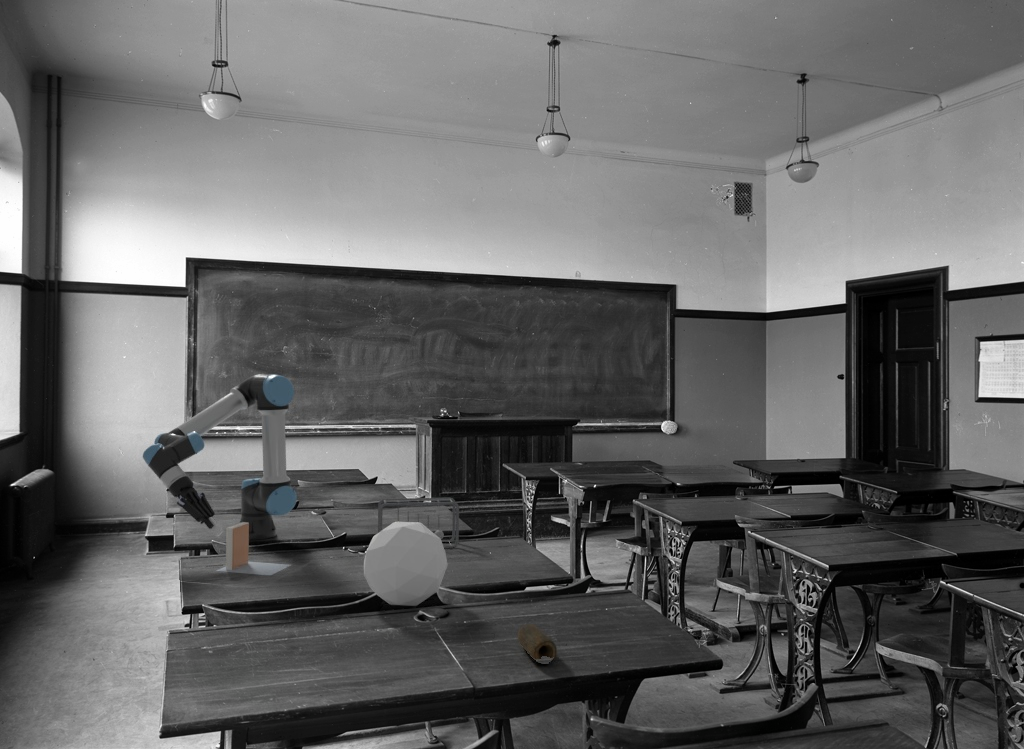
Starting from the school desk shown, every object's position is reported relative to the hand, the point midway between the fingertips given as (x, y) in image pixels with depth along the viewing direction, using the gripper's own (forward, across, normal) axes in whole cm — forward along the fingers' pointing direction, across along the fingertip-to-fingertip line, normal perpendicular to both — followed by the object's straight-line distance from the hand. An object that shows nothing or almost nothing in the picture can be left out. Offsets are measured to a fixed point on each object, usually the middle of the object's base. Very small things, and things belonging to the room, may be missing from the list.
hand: (220, 534), depth 271 cm
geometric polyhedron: (+61, +21, +45) cm, 78 cm away
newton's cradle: (+46, -48, +30) cm, 73 cm away
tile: (+12, 0, -3) cm, 13 cm away
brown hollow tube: (+93, +52, +77) cm, 131 cm away
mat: (+17, 0, +1) cm, 17 cm away
